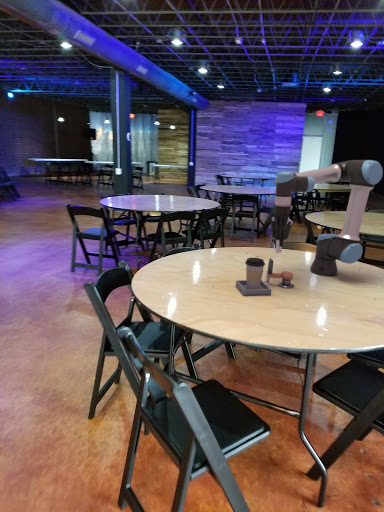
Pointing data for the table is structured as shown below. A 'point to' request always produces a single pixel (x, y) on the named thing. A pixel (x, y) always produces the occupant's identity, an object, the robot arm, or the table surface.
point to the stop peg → (267, 280)
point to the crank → (282, 275)
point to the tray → (262, 290)
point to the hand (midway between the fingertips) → (278, 252)
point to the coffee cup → (254, 272)
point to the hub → (285, 284)
